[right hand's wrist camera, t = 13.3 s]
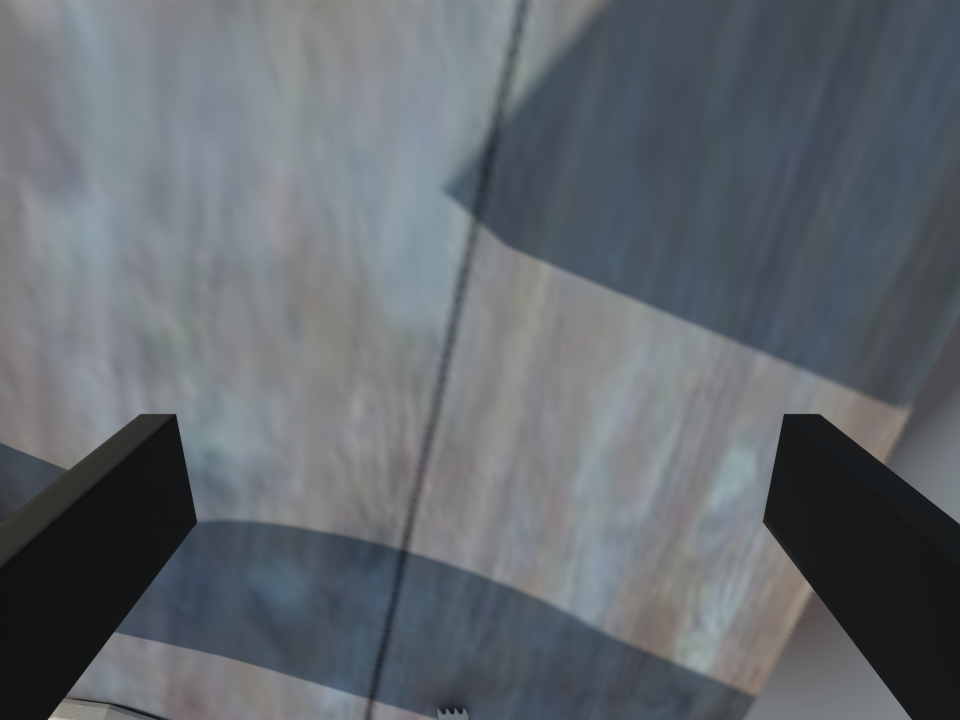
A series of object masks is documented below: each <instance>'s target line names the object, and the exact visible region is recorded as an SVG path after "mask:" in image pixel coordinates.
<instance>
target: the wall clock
mask: <svg viewBox="0 0 960 720" xmlns="http://www.w3.org/2000/svg"><path fill="white" fill-rule="evenodd" d="M48 720H156V719H153V718H150V717H147V716H144V715H141V714H138V713H135V712H132V711H129V710H126V709H123V708H119V707H116V706H113V705H109V704H102V703H95V702H87V701H80V700H73V699H65V698H64V699H63V700H62V702H61V703H60V704H59V706H58V707H57V708H56V710H55V711H54V712H53V714H52V715H51V716H50V718H49V719H48Z"/></svg>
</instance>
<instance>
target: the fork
mask: <svg viewBox="0 0 960 720" xmlns="http://www.w3.org/2000/svg"><path fill="white" fill-rule="evenodd" d="M437 712H438V720H468V718H469V717H468V714H467V712H466V710H465V709H464V708H463V714H460V713H459V712H458V711H457V709H456V708H455V713H454V714H451V713H450V712H449V710H448V709H447V708H446V714H442V712H441V711H440V710H439V709H437Z"/></svg>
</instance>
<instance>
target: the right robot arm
mask: <svg viewBox="0 0 960 720" xmlns="http://www.w3.org/2000/svg"><path fill="white" fill-rule="evenodd" d="M196 523H197V519H196V514H195V508H194V503H193V498H192V493H191V488H190V483H189V478H188V473H187V468H186V463H185V458H184V452H183V447H182V442H181V437H180V432H179V427H178V422H177V417H176V414H140V415H139V416H137V417H136V418H135V419H134V420H132V421H131V422H130V423H128V424H127V425H126V426H125V427H123V428H122V429H121V430H120V431H118V432H117V433H116V434H115V435H113V436H112V437H111V438H109V439H108V440H107V441H106V442H104V443H103V444H102V445H101V446H99V447H98V448H97V449H95V450H94V451H93V452H92V453H90V454H89V455H88V456H87V457H85V458H84V459H83V460H81V461H80V462H79V463H78V464H76V465H75V466H74V467H73V468H71V469H70V470H69V471H67V472H66V473H65V474H64V475H62V476H61V477H60V478H59V479H57V480H56V481H55V482H53V483H52V484H51V485H50V486H48V487H47V488H46V489H45V490H43V491H42V492H41V493H39V494H38V495H37V496H36V497H34V498H33V499H32V500H31V501H29V502H28V503H27V504H25V505H24V506H23V507H22V508H20V509H19V510H18V511H17V512H15V513H14V514H13V515H11V516H10V517H9V518H8V519H6V520H5V521H4V522H3V523H1V524H0V720H48V719H49V718H50V716H51V715H52V714H53V712H54V711H55V710H56V708H57V707H58V706H59V704H60V703H61V702H62V700H63V699H64V698H65V696H66V695H67V694H68V692H69V691H70V690H71V688H72V687H73V686H74V684H75V683H76V682H77V680H78V679H79V678H80V677H81V675H82V674H83V673H84V671H85V670H86V669H87V667H88V666H89V665H90V663H91V662H92V661H93V659H94V658H95V657H96V655H97V654H98V653H99V651H100V650H101V649H102V647H103V646H104V645H105V643H106V642H107V641H108V639H109V638H110V637H111V635H112V634H113V633H114V631H115V630H116V629H117V627H118V626H119V625H120V624H121V622H122V621H123V620H124V618H125V617H126V616H127V614H128V613H129V612H130V610H131V609H132V608H133V606H134V605H135V604H136V602H137V601H138V600H139V598H140V597H141V596H142V594H143V593H144V592H145V590H146V589H147V588H148V586H149V585H150V584H151V582H152V581H153V580H154V578H155V577H156V576H157V574H158V573H159V572H160V571H161V569H162V568H163V567H164V565H165V564H166V563H167V561H168V560H169V559H170V557H171V556H172V555H173V553H174V552H175V551H176V549H177V548H178V547H179V545H180V544H181V543H182V541H183V540H184V539H185V537H186V536H187V535H188V533H189V532H190V531H191V529H192V528H193V527H194V525H195V524H196ZM763 523H764V524H765V525H766V527H767V528H768V529H769V531H770V532H771V533H772V535H773V536H774V537H775V539H776V540H777V541H778V543H779V544H780V545H781V547H782V548H783V549H784V551H785V552H786V553H787V555H788V556H789V557H790V559H791V560H792V561H793V563H794V564H795V565H796V567H797V568H798V569H799V571H800V572H801V573H802V574H803V576H804V577H805V578H806V580H807V581H808V582H809V584H810V585H811V586H812V588H813V589H814V590H815V592H816V593H817V594H818V596H819V597H820V598H821V600H822V601H823V602H824V604H825V605H826V606H827V608H828V609H829V610H830V612H831V613H832V614H833V616H834V617H835V618H836V620H837V621H838V622H839V623H840V625H841V626H842V627H843V629H844V630H845V631H846V633H847V634H848V635H849V637H850V638H851V639H852V641H853V642H854V643H855V645H856V646H857V647H858V649H859V650H860V651H861V653H862V654H863V655H864V657H865V658H866V659H867V661H868V662H869V663H870V665H871V666H872V667H873V669H874V670H875V671H876V673H877V674H878V675H879V676H880V678H881V679H882V680H883V682H884V683H885V684H886V686H887V687H888V688H889V690H890V691H891V692H892V694H893V695H894V696H895V698H896V699H897V700H898V702H899V703H900V704H901V706H902V707H903V708H904V710H905V711H906V712H907V714H908V715H909V716H910V718H911V719H912V720H960V524H959V523H957V522H956V521H955V520H954V519H952V518H951V517H950V516H949V515H947V514H946V513H945V512H943V511H942V510H941V509H940V508H938V507H937V506H936V505H935V504H933V503H932V502H931V501H929V500H928V499H927V498H926V497H924V496H923V495H922V494H921V493H919V492H918V491H917V490H915V489H914V488H913V487H912V486H910V485H909V484H908V483H906V482H905V481H904V480H903V479H901V478H900V477H899V476H898V475H896V474H895V473H894V472H893V471H891V470H890V469H889V468H887V467H886V466H885V465H884V464H882V463H881V462H880V461H879V460H877V459H876V458H875V457H873V456H872V455H871V454H870V453H868V452H867V451H866V450H865V449H863V448H862V447H861V446H859V445H858V444H857V443H856V442H854V441H853V440H852V439H851V438H849V437H848V436H847V435H845V434H844V433H843V432H842V431H840V430H839V429H838V428H837V427H835V426H834V425H833V424H832V423H830V422H829V421H828V420H826V419H825V418H824V417H823V416H821V415H820V414H784V417H783V422H782V427H781V432H780V437H779V442H778V447H777V452H776V458H775V463H774V468H773V473H772V478H771V483H770V488H769V493H768V498H767V503H766V508H765V514H764V519H763Z"/></svg>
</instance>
